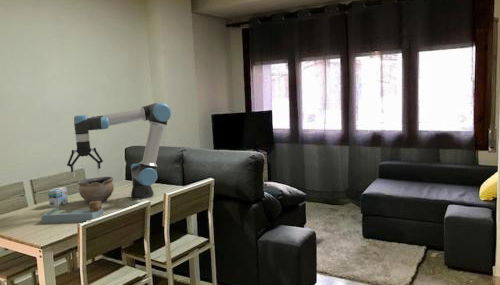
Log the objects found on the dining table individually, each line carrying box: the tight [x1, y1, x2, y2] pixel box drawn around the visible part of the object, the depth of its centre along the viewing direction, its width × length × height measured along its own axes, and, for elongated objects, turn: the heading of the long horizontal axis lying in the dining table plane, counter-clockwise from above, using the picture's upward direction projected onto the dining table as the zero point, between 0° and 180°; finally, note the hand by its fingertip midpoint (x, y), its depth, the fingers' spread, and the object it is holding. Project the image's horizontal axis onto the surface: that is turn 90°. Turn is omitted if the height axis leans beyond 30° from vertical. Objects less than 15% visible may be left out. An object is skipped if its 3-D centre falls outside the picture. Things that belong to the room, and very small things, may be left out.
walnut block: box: [88, 201, 103, 212], centre depth 245 cm, size 5×5×5 cm
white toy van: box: [47, 186, 69, 208], centre depth 275 cm, size 11×7×11 cm, turn 168°
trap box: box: [41, 207, 104, 224], centre depth 243 cm, size 29×16×4 cm, turn 87°
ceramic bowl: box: [77, 176, 114, 203], centre depth 279 cm, size 22×22×15 cm
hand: (86, 175), depth 254 cm, fingers open, 13 cm apart
